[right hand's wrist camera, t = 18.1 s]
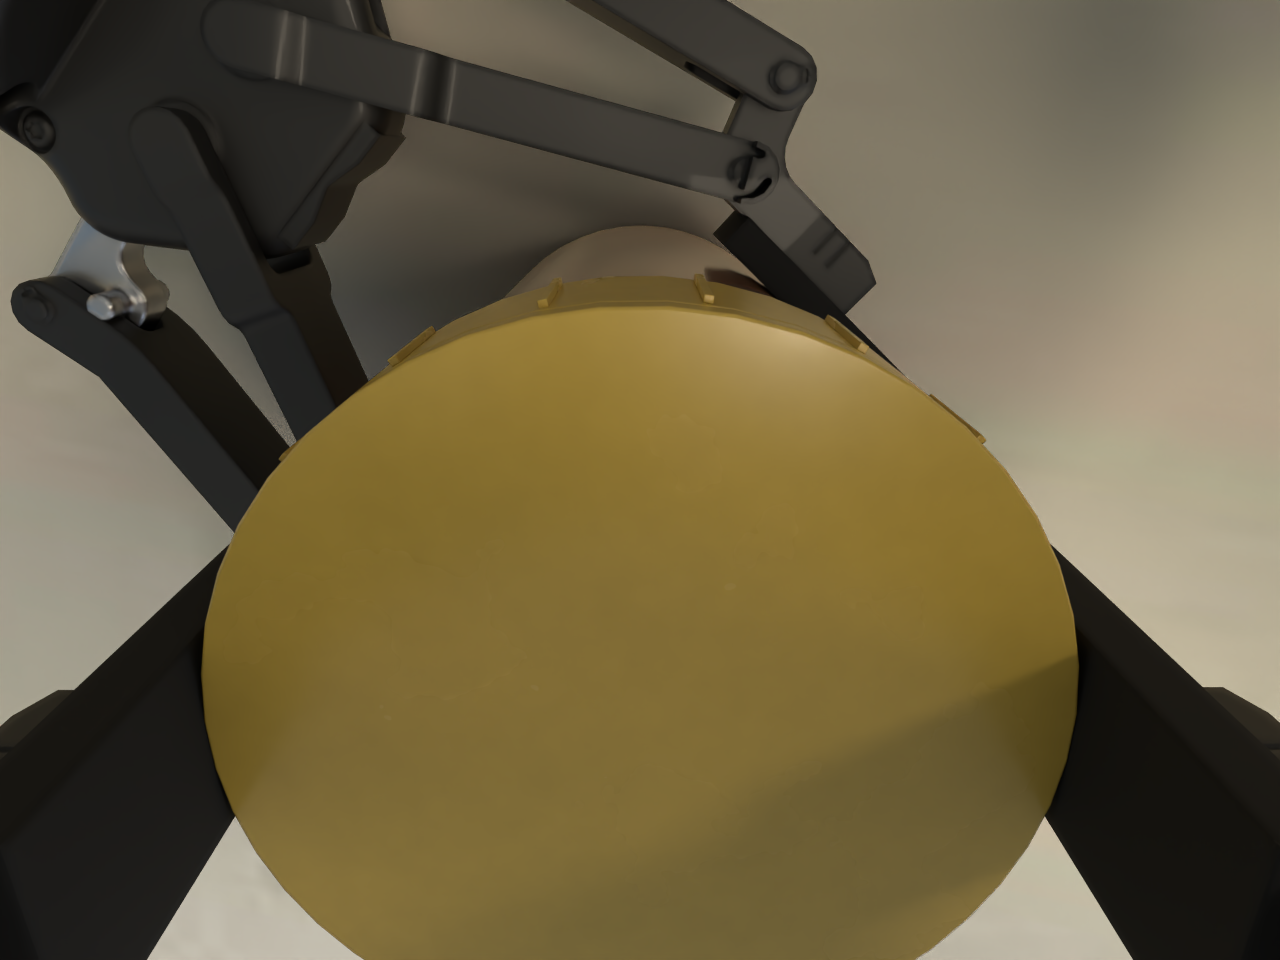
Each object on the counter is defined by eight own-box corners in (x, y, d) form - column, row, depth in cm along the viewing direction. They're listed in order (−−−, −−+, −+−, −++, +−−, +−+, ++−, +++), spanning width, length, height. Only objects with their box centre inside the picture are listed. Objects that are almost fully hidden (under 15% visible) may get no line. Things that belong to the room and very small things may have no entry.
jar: (460, 245, 25) (160, 389, 9) (786, 206, 24) (1038, 291, 9) (514, 538, 28) (360, 1003, 13) (800, 509, 28) (1001, 951, 12)
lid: (308, 895, 14) (246, 1031, 12) (233, 245, 10) (123, 268, 8) (929, 921, 14) (983, 1060, 12) (1079, 293, 11) (1195, 327, 8)
